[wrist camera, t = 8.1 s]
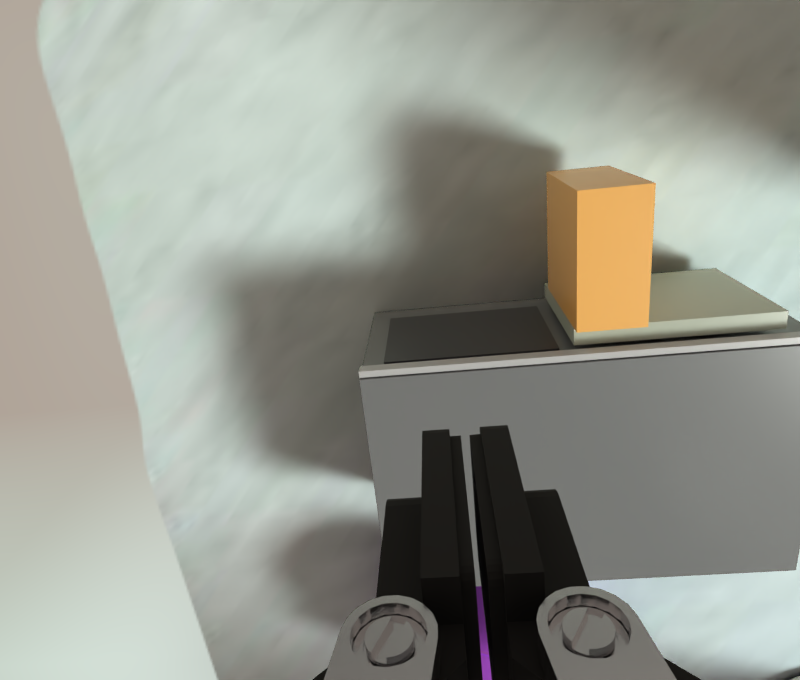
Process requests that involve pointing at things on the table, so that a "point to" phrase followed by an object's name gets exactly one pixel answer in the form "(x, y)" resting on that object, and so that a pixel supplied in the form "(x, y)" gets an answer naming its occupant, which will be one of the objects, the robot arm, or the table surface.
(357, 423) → the table surface
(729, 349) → the box
